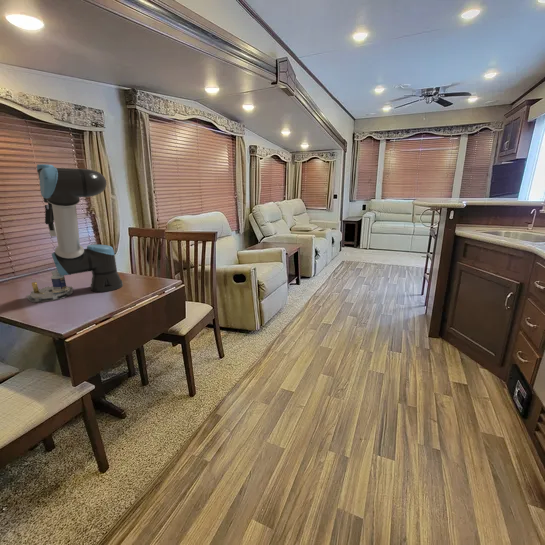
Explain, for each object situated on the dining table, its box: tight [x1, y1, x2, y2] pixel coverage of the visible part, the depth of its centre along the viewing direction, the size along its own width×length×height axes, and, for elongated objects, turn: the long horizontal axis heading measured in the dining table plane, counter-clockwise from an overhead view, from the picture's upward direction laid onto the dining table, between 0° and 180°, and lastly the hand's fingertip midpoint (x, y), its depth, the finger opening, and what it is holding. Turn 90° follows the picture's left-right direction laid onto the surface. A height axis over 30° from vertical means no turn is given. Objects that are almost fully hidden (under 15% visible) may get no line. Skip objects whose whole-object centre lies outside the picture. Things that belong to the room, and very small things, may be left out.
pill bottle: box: [50, 269, 67, 291], centre depth 147 cm, size 5×5×10 cm
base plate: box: [28, 290, 74, 303], centre depth 147 cm, size 18×18×1 cm
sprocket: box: [26, 281, 74, 301], centre depth 146 cm, size 18×18×7 cm
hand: (59, 234), depth 164 cm, fingers open, 13 cm apart
